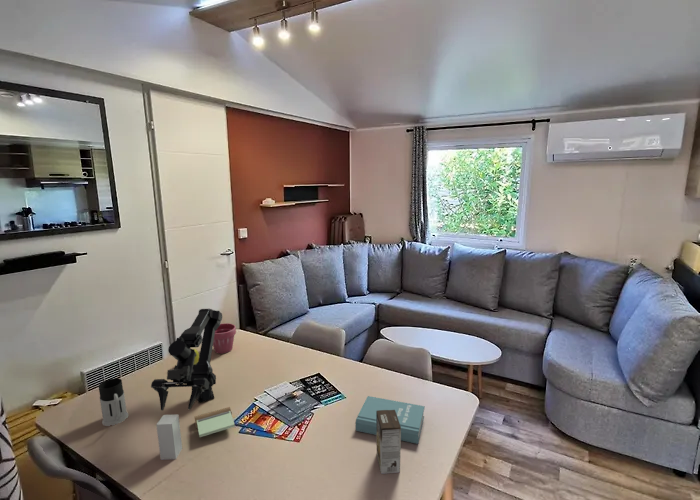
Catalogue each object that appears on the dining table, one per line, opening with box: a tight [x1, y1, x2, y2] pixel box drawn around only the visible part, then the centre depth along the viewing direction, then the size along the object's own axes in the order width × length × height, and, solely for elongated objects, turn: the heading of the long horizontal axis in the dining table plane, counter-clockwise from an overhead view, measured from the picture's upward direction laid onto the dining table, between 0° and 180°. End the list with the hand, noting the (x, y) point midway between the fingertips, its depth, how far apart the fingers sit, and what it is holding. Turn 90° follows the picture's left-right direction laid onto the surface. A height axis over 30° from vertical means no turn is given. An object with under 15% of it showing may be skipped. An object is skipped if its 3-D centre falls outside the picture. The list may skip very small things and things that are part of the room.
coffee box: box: [376, 410, 402, 475], centre depth 117 cm, size 9×6×16 cm
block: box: [155, 414, 183, 461], centre depth 123 cm, size 5×5×13 cm
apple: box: [193, 348, 200, 365], centre depth 184 cm, size 8×8×10 cm
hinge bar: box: [194, 406, 233, 429], centre depth 141 cm, size 4×13×2 cm, turn 118°
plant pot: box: [212, 322, 237, 355], centre depth 199 cm, size 14×14×13 cm
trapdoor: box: [197, 411, 236, 438], centre depth 134 cm, size 9×12×1 cm
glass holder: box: [98, 377, 129, 427], centre depth 140 cm, size 9×14×15 cm, turn 44°
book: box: [354, 395, 425, 445], centre depth 137 cm, size 23×16×5 cm
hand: (175, 409), depth 127 cm, fingers open, 9 cm apart
